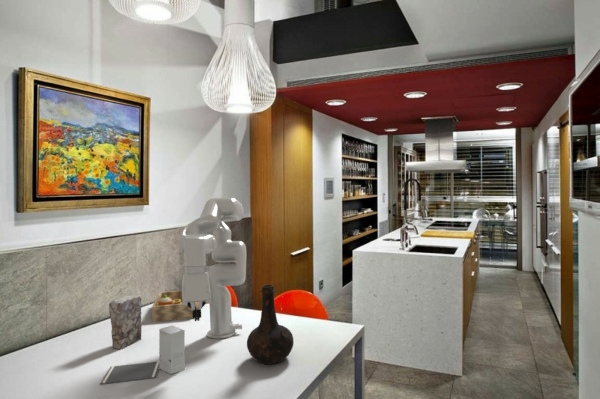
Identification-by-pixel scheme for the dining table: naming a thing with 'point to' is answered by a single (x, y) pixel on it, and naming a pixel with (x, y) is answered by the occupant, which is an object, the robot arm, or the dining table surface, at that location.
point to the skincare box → (171, 349)
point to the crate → (171, 308)
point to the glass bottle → (269, 333)
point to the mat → (131, 372)
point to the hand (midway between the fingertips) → (197, 319)
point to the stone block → (125, 321)
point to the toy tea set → (168, 301)
